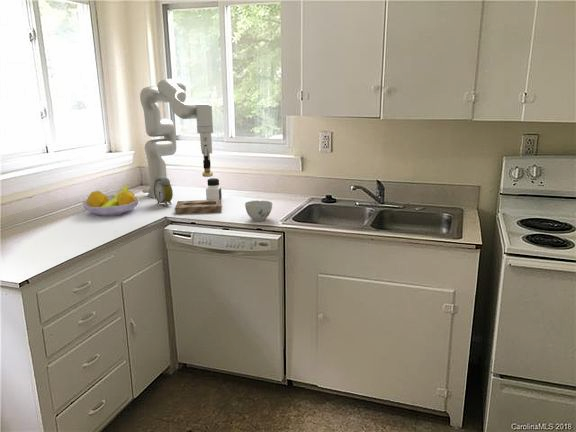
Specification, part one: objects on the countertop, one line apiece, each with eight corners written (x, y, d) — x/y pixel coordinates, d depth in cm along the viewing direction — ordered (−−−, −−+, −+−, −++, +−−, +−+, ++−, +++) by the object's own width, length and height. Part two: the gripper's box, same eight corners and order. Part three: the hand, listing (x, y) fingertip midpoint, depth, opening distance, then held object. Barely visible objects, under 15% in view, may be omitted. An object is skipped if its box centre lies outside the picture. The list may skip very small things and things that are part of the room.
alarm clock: (154, 204, 252) (152, 176, 248) (166, 202, 256) (164, 174, 252) (164, 208, 244) (162, 179, 240) (176, 205, 248) (174, 177, 244)
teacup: (276, 221, 218) (276, 204, 215) (250, 224, 213) (249, 207, 211) (265, 213, 231) (265, 197, 229) (240, 216, 227) (240, 200, 224)
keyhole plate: (175, 214, 232) (175, 207, 231) (178, 207, 245) (177, 201, 244) (221, 212, 234) (221, 206, 234) (221, 205, 248) (221, 199, 247)
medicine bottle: (219, 202, 255) (218, 179, 252) (206, 202, 255) (205, 180, 252) (221, 199, 262) (220, 177, 259) (208, 199, 262) (207, 177, 259)
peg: (202, 176, 233) (200, 152, 230) (202, 175, 238) (201, 150, 235) (212, 176, 234) (211, 152, 231) (212, 174, 239) (211, 150, 235)
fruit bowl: (107, 222, 219) (104, 198, 216) (71, 214, 233) (68, 191, 230) (154, 209, 242) (152, 187, 239) (119, 202, 256) (117, 181, 253)
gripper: (212, 131, 223) (214, 170, 228) (213, 128, 238) (215, 165, 243) (196, 131, 222) (198, 170, 227) (198, 128, 237) (200, 165, 242)
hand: (207, 167), depth 235 cm, fingers closed on peg, 3 cm apart
